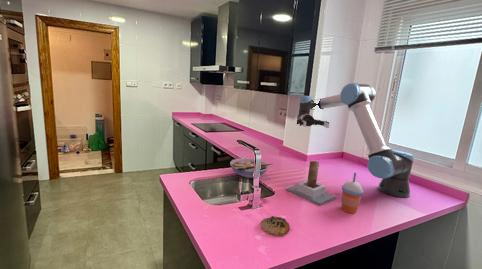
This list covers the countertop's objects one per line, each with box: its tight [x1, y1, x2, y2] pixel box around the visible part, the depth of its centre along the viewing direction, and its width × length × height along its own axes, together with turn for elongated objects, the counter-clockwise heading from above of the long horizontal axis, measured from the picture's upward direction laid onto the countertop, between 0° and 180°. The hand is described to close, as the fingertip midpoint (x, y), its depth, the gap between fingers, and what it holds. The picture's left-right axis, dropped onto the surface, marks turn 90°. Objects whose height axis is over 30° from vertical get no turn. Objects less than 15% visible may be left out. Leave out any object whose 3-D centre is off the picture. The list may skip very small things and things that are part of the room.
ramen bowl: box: [229, 157, 273, 179], centre depth 147 cm, size 25×23×8 cm
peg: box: [306, 160, 320, 188], centre depth 127 cm, size 4×4×16 cm
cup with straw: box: [341, 172, 365, 214], centre depth 113 cm, size 9×9×18 cm
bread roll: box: [259, 215, 291, 237], centre depth 95 cm, size 11×11×5 cm
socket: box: [285, 179, 336, 207], centre depth 128 cm, size 20×14×5 cm
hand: (316, 125), depth 148 cm, fingers open, 13 cm apart
